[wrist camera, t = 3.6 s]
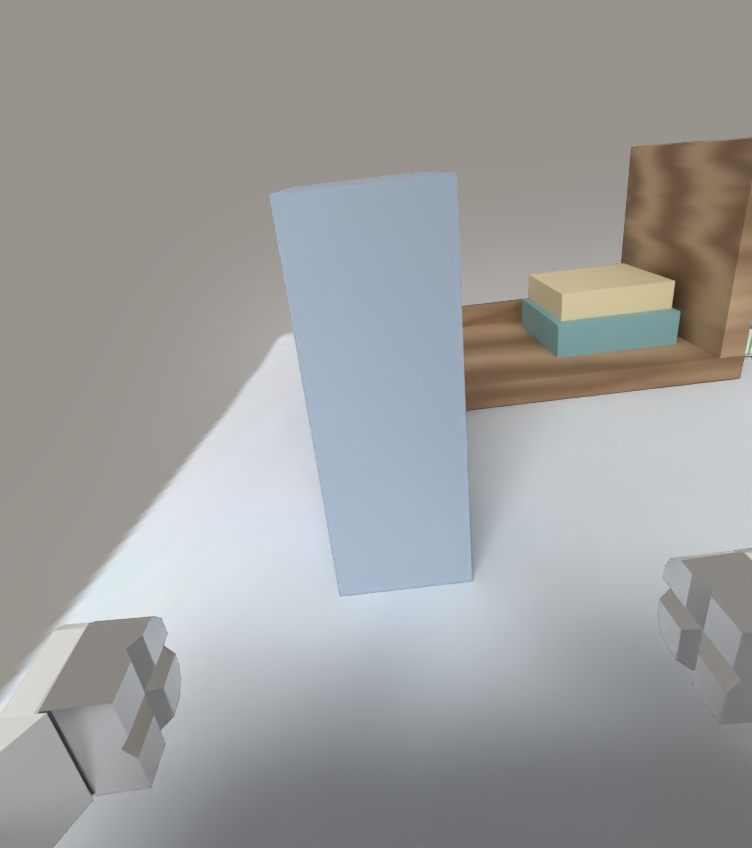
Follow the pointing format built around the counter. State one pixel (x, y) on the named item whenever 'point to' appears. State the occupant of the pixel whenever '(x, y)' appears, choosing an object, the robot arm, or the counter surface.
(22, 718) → the robot arm
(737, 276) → the shelf
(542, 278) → the book stack
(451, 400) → the light blue upright block
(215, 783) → the counter surface
